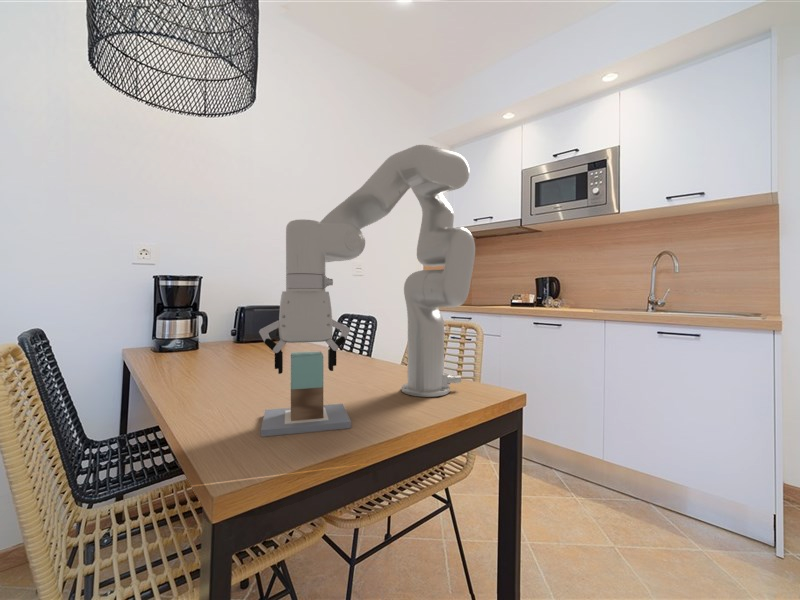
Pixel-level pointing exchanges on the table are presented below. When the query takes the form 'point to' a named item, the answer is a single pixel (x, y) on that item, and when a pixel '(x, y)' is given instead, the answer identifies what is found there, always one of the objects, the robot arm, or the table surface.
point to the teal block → (306, 370)
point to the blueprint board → (304, 421)
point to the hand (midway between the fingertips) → (306, 371)
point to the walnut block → (306, 404)
